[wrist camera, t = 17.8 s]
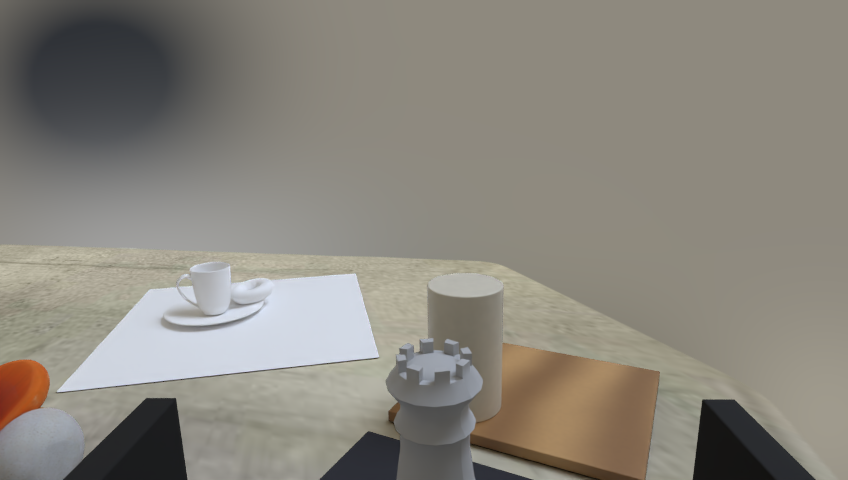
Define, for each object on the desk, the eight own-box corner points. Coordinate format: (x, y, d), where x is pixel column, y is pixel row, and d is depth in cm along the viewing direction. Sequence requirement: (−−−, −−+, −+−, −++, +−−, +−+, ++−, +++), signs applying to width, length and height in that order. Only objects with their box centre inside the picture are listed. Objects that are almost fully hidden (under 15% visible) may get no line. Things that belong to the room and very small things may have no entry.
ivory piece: (510, 394, 30) (513, 277, 29) (486, 431, 27) (488, 301, 25) (446, 379, 32) (446, 269, 30) (416, 413, 29) (413, 290, 27)
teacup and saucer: (276, 292, 50) (272, 250, 49) (270, 324, 42) (265, 276, 41) (177, 300, 48) (171, 257, 47) (152, 335, 41) (144, 285, 40)
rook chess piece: (522, 552, 19) (529, 352, 18) (438, 636, 16) (436, 405, 14) (434, 493, 23) (432, 317, 21) (350, 555, 19) (338, 355, 18)
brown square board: (659, 380, 33) (659, 371, 33) (643, 492, 23) (644, 480, 23) (464, 343, 39) (464, 335, 38) (388, 420, 29) (388, 411, 29)
